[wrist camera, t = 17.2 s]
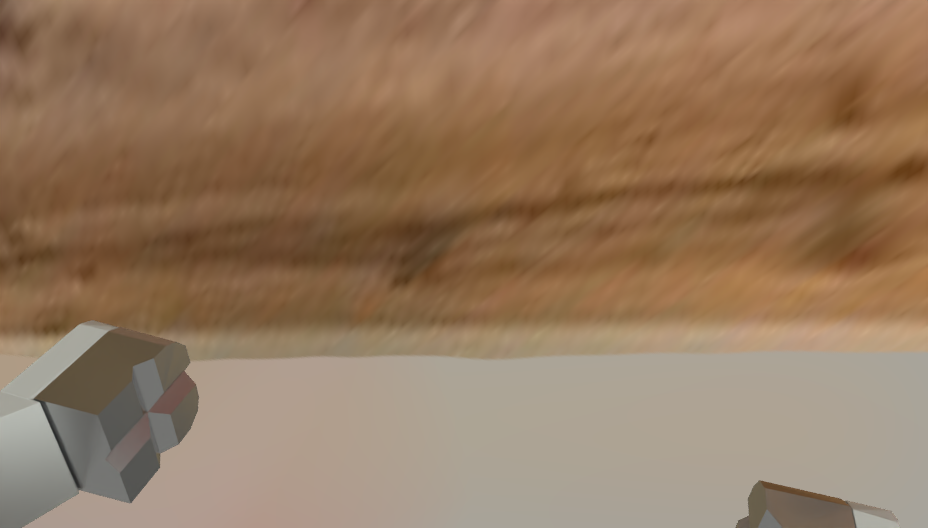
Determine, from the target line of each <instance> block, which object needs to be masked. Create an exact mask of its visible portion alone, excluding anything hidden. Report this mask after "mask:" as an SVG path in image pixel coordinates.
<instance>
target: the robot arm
mask: <svg viewBox="0 0 928 528" xmlns="http://www.w3.org/2000/svg"><path fill="white" fill-rule="evenodd" d="M189 363H190V359H189V356H188V353H187V350H186V346H185V345H182V344H180V343H177V342H174V341H170V340H166V339H163V338H159V337H155V336H152V335H148V334H144V333H140V332H137V331H133V330H129V329H126V328H122V327H117V326H113V325H109V324H105V323H101V322H97V321H94V320H92V321H88V322H85V323H81V324H79V325H78V326H77V327H76V328H74V329H73V330H72V331H71V332H70V333H68V334H67V335H66V336H65V337H64V338H62V339H61V340H60V341H59V342H58V343H57V344H55V345H54V346H53V347H52V348H51V349H49V350H48V351H47V352H46V353H45V354H43V355H42V356H41V357H40V358H39V359H37V360H36V361H35V362H34V363H33V364H32V365H30V366H29V367H28V368H27V369H26V370H24V371H23V372H22V373H21V374H20V375H18V376H17V377H16V378H15V379H14V380H12V381H11V382H10V383H9V384H8V385H7V386H5V387H4V388H3V389H2V390H1V391H0V528H22V527H24V526H25V525H27V524H29V523H30V522H32V521H34V520H35V519H37V518H39V517H40V516H42V515H44V514H45V513H47V512H49V511H50V510H52V509H54V508H55V507H57V506H59V505H60V504H62V503H64V502H65V501H67V500H69V499H71V498H72V497H74V496H76V495H77V494H79V490H82V491H85V492H89V493H93V494H97V495H100V496H105V497H108V498H112V499H115V500H119V501H123V502H127V503H132V501H133V500H134V499H135V498H136V496H137V495H138V494H139V493H140V491H141V490H142V489H143V488H144V487H145V485H146V484H147V483H148V481H149V480H150V479H151V478H152V477H153V475H154V474H155V473H156V472H157V471H158V469H159V468H160V453H162V452H164V451H166V450H168V449H170V448H172V447H174V446H176V445H178V444H179V443H180V442H181V441H182V439H183V438H184V437H185V435H186V434H187V432H188V431H189V430H190V429H191V426H192V423H193V421H194V419H195V416H196V414H197V411H198V399H199V396H198V392H197V387H196V384H195V383H194V382H193V381H192V379H191V378H190V377H189V376H188V375H187V374H186V373H185V371H184V370H185V369H186V368H187V366H188V365H189ZM748 507H749V516H747V517H745V518H743V519H741V520H739V521H738V523H737V525H736V528H900V525H899V522H898V519H897V518H896V516H895V515H894V514H893V513H892V511H889V510H885V509H880V508H876V507H872V506H867V505H863V504H858V503H855V502H850V501H843V500H842V499H839V498H835V497H830V496H826V495H822V494H817V493H813V492H808V491H804V490H800V489H795V488H791V487H786V486H782V485H777V484H773V483H769V482H764V481H758V482H757V483H756V484H755V485H754V487H753V489H752V491H751V493H750V495H749V497H748Z"/></svg>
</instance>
